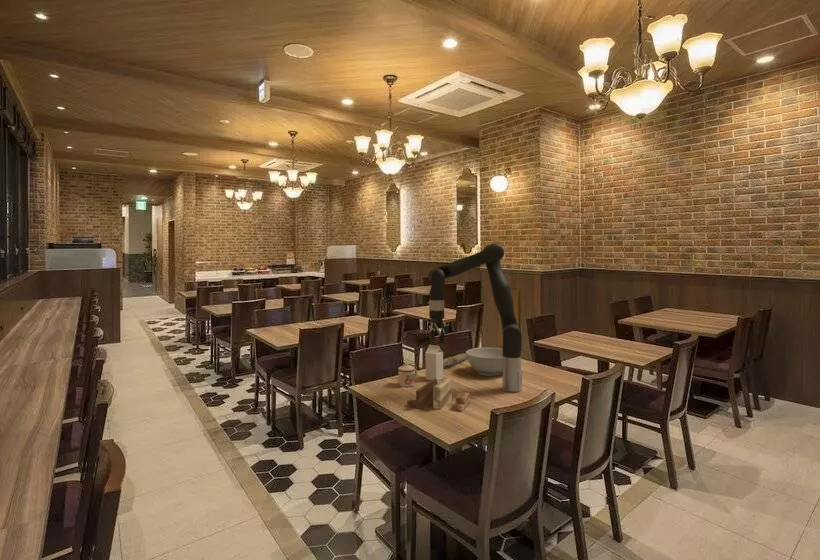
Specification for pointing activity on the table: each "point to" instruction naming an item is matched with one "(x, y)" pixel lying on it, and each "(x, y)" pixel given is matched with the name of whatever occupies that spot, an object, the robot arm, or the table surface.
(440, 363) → the milk carton
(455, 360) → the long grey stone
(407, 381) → the teacup with lid
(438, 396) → the pale wooden block
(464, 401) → the offcut stack
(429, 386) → the rack
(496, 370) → the decorative bowl
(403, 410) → the table surface
